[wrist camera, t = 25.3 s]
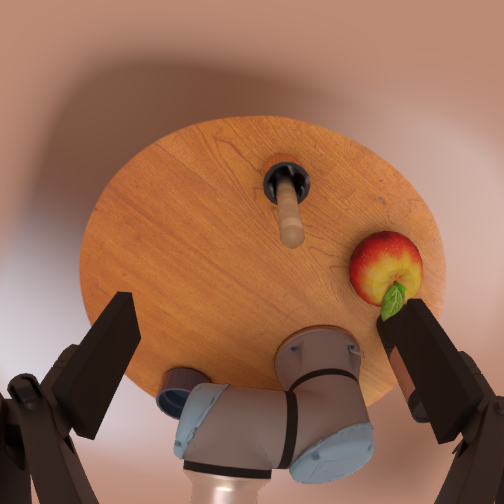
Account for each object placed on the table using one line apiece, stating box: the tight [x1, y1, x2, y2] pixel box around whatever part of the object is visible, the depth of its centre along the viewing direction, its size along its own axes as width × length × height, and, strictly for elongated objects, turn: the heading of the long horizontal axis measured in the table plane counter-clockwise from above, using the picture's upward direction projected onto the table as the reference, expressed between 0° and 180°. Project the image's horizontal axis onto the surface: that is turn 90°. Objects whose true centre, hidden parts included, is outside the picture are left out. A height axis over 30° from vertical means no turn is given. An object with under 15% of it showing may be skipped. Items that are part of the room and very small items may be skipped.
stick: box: [275, 166, 305, 249], centre depth 33 cm, size 2×2×19 cm
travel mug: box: [377, 304, 430, 423], centre depth 41 cm, size 8×8×20 cm
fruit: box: [349, 231, 423, 321], centre depth 41 cm, size 11×11×10 cm
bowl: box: [156, 368, 210, 420], centre depth 55 cm, size 10×10×6 cm
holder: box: [263, 153, 310, 205], centre depth 38 cm, size 5×5×9 cm
